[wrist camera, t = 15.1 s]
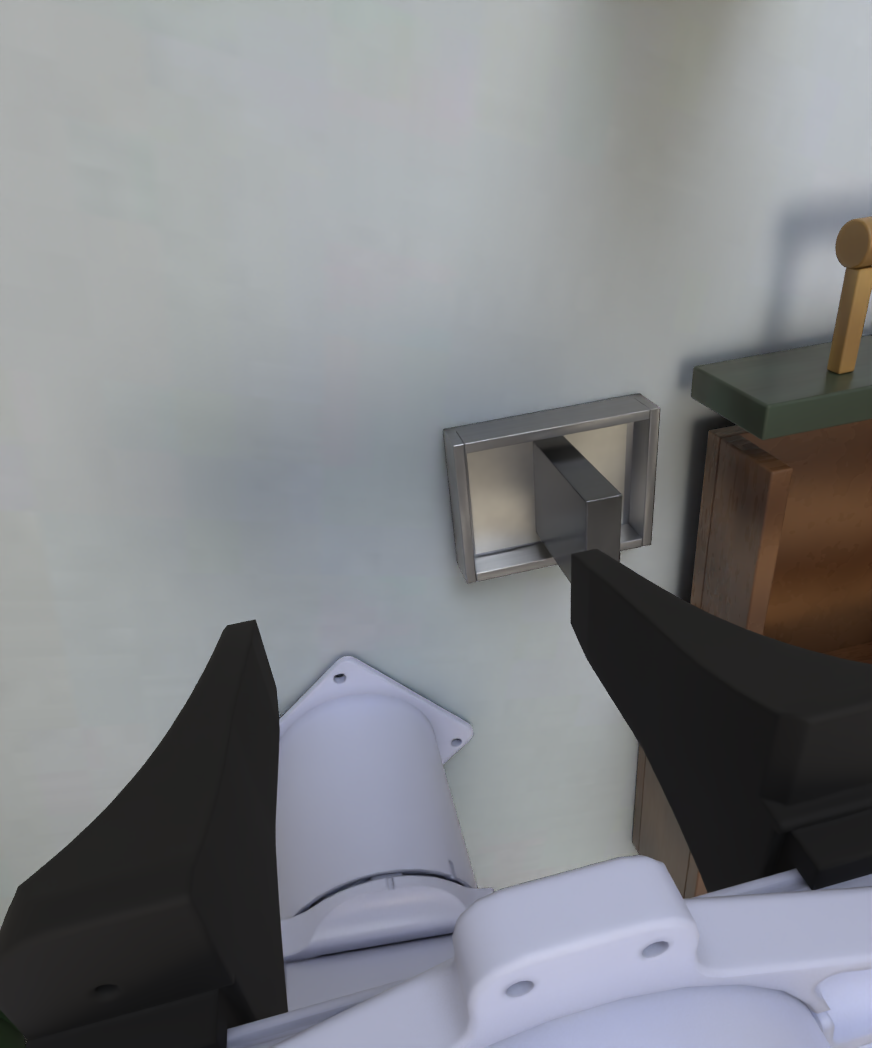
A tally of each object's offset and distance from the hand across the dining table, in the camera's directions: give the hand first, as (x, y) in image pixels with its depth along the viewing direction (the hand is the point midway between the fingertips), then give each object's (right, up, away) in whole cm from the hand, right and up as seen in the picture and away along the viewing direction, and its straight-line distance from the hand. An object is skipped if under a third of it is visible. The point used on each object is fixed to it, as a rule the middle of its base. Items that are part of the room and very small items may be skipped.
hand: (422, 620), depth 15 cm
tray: (+5, +4, +11) cm, 13 cm away
